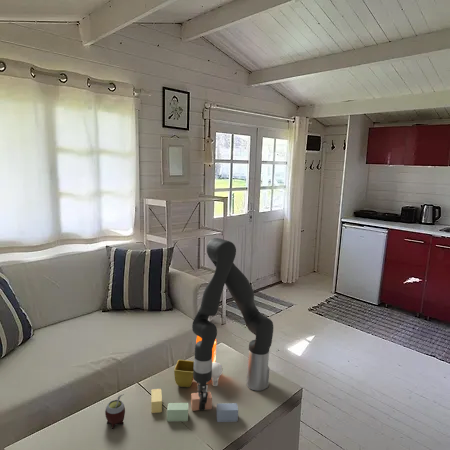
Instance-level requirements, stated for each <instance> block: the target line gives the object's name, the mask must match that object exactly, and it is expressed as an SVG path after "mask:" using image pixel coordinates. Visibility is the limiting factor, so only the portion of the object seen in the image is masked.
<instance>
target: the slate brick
mask: <svg viewBox="0 0 450 450" xmlns="http://www.w3.org/2000/svg"><path fill="white" fill-rule="evenodd" d="M238 407H239V406H238V403H237V402H235V403H233V402H229V403H228V402H227V403H225V402H224V403H216V412H215V414H216V422H217V423H221V422H223V423H225V422H226V423H227V422H238V418H239V408H238Z"/></svg>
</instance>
